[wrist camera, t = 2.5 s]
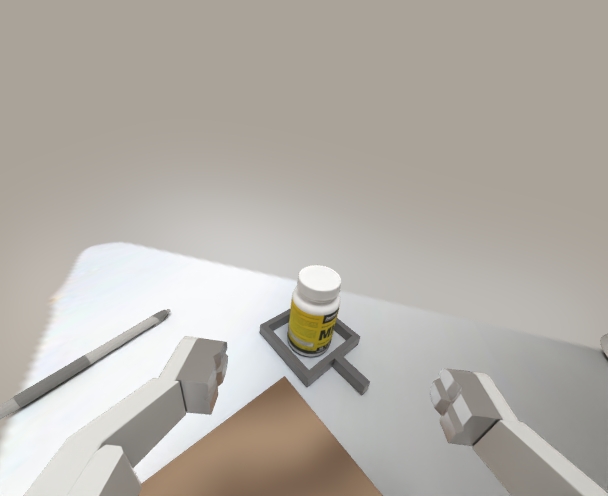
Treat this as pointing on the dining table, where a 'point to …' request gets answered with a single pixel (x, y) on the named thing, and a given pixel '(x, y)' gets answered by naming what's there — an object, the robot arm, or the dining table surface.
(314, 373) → the grey frame with handle
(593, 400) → the dining table surface
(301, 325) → the supplement bottle
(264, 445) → the pad
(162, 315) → the pen
